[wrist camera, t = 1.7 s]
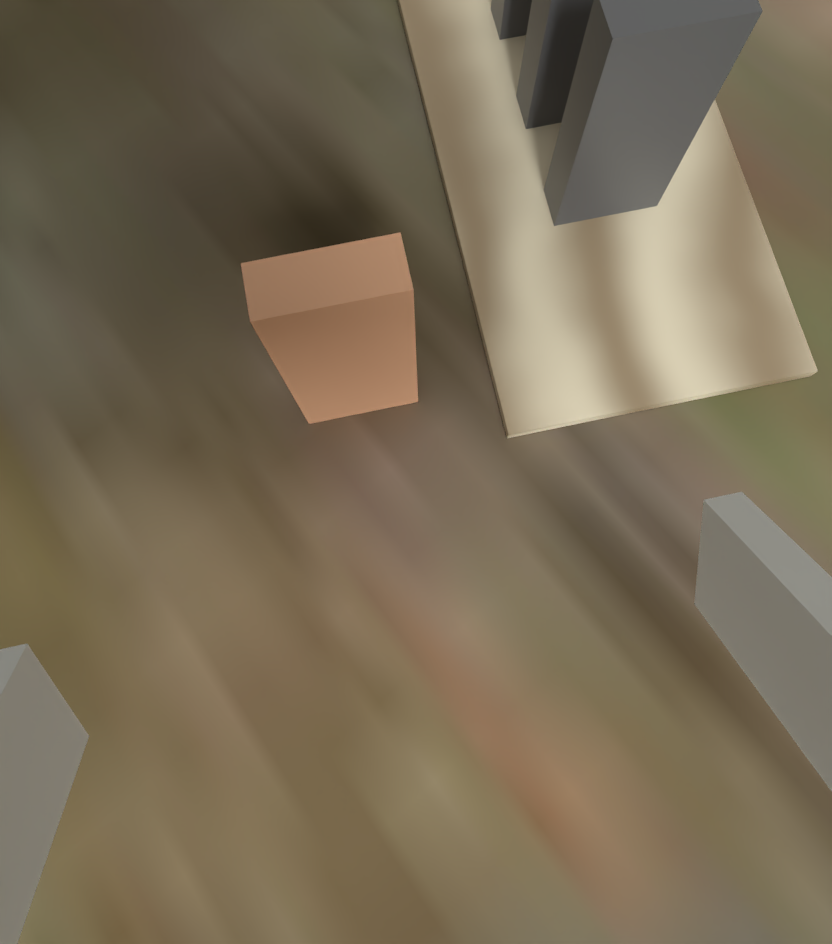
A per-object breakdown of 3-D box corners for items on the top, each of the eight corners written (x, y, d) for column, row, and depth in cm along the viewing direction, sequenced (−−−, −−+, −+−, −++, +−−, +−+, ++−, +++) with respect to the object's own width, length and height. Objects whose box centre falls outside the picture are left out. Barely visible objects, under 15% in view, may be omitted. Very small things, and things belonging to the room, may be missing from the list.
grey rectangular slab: (624, 110, 32) (710, -115, 22) (525, 129, 32) (568, -90, 22) (613, 77, 33) (692, -157, 23) (516, 95, 32) (554, -133, 23)
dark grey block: (656, 206, 31) (762, 11, 21) (554, 225, 31) (612, 38, 21) (644, 170, 31) (742, -37, 22) (543, 189, 31) (596, -10, 21)
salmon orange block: (418, 401, 29) (413, 289, 20) (309, 423, 29) (250, 321, 20) (409, 361, 30) (400, 232, 20) (301, 382, 30) (240, 263, 20)
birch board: (506, 438, 29) (508, 434, 28) (396, -3, 35) (395, -13, 34) (810, 376, 29) (817, 371, 29) (650, -49, 35) (654, -60, 35)
